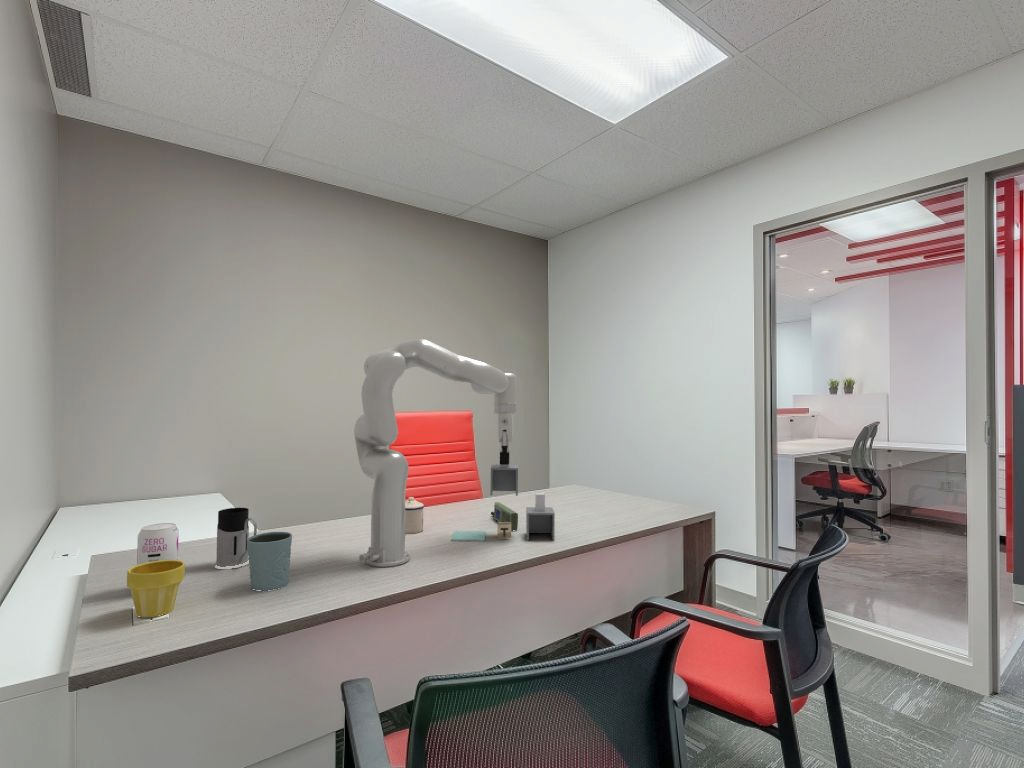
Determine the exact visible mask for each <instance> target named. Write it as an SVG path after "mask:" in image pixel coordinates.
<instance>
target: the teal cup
mask: <svg viewBox="0 0 1024 768" xmlns="http://www.w3.org/2000/svg"><path fill="white" fill-rule="evenodd" d="M253 535H254V534H253ZM253 535H252V536H249V538H248V539H247V547H248V558H249V564H248V566H249V567H248V569H249V576H250V577H249V578H250V588H252V589H255V590H261V591H260V592H263V591H264V592H269V591H268V590H273V589H277V590H279V589H278V588H280V589H282V588H281V587H283V588H285V587H287V586H288V585H289V582H290V571H291V569H290V566H291V554H292V548H291V547H292V540H293V534H292V533H291V532H287V531H268V532H263V533H257V534H256V535H254V536H253ZM287 584H288V585H287ZM286 585H287V586H286ZM284 586H285V587H284ZM252 589H251V590H252ZM273 591H274V590H273Z"/></svg>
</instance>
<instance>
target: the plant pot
mask: <svg viewBox="0 0 1024 768" xmlns="http://www.w3.org/2000/svg"><path fill="white" fill-rule="evenodd" d="M185 571H186V564H185V561H183V560H179V559H178V560H160V561H153V562H148V563H143V564H140V565H137V564H136V565H134V566H131V567H130V568H128V570H127V571H126V587H127V588H128V589H130V592H131V596H132V601H133V606H134V611H135V615H136V616H137V617H138V616H140V617H139V618H141V617H151V618H156V617H155V616H157V617H160V616H159V615H161V616H163V615H162V614H164V615H166V614H165V613H167V614H169V613H171V612H172V611H173V610H174V608H175V603H176V600H177V596H178V592H179V588H180V586H181V582H182V581H183V580H184V579H185Z"/></svg>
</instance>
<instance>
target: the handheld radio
mask: <svg viewBox="0 0 1024 768" xmlns="http://www.w3.org/2000/svg"><path fill="white" fill-rule="evenodd" d="M490 515H492V516H493V519H495V520H494V521H496V520H497V521H498V522H511V532H514V531H513V530H517V531H518V528H519V527H518V526H519V514H518V512H517V511H515V510H513V509H512V508H510V507H508V506H506V505H504V504H503V503H501V502H499V501H494V508H493V511H491V512H490ZM497 521H496V522H497ZM498 522H497V523H498Z"/></svg>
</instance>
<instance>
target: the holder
mask: <svg viewBox="0 0 1024 768" xmlns="http://www.w3.org/2000/svg"><path fill="white" fill-rule="evenodd" d="M249 511H250V509H249V508H247V507H230V508H224V509H220V510H218V512H217V514H218V515H217V528H216V530H217V531H216V559H215V564H216V565H217V566H220V567H226V566H235V565H239V564H243V563H245V562H247V561H248V560H249V556H248V547H247V539H248V538H249V537H250V526H249V522H250V521H252V523H253V535H252V536H254V535H258V533H257V531H258V524H257V521H256V519H255V518H254V517H249Z"/></svg>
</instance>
